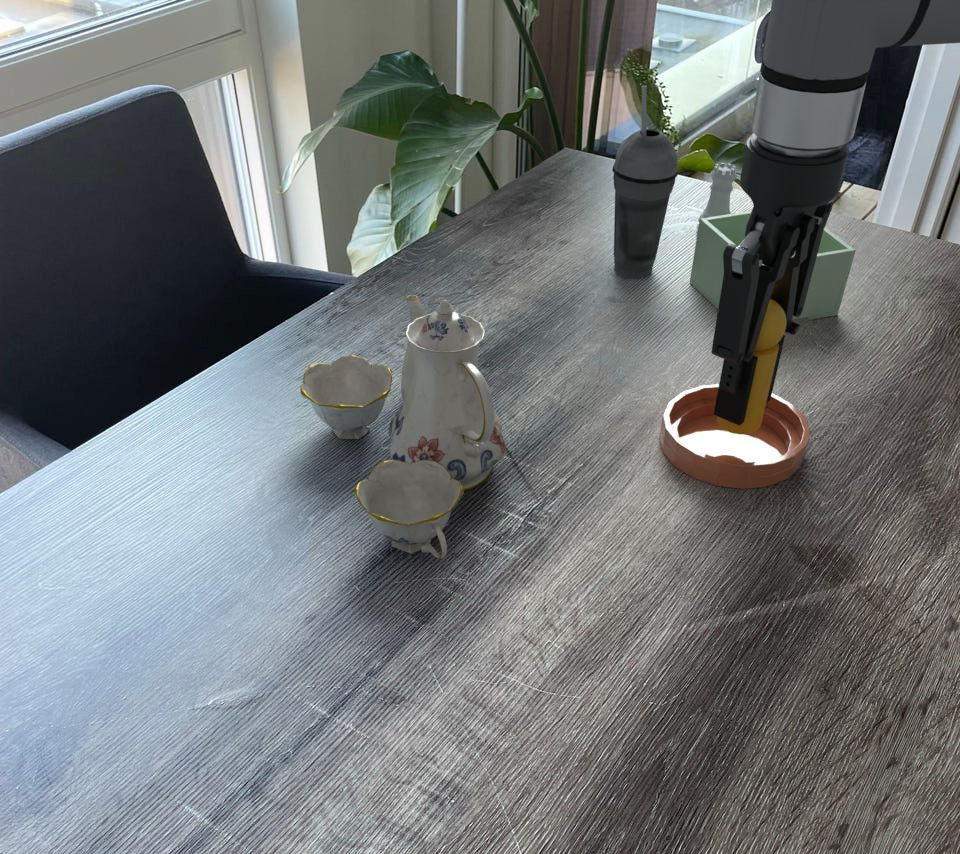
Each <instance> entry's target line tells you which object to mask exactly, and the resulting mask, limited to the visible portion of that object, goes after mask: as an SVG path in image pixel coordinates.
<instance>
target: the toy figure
mask: <svg viewBox="0 0 960 854" xmlns="http://www.w3.org/2000/svg"><path fill="white" fill-rule="evenodd" d="M785 330H786V315H785V312H784V310H783V309H782V307H781V306H780V305H779V304H778V303H777V302H775V301H774V300H772V299H770V301H769V304H768V307H767V311H766V314H765V317H764V321H763V324H762V327H761V331H760V334H759V337H758V341H757V344H756V347H755V351H754V354H753V355H754V356H757V357H758V360H757V364H756V369H755V373H754V378H753V383H752V387H751V392H750V397H749V401H748V406H747V410H746V415H745V420H744V422H743V423H742V424H741V425H740V426H739V425H737V424H734V423H732V422H730V421H727V420H725V419H723V418H720V417H717V422H718V424H719V426H720V427H721V428H722V429H724V430H726V431H728V432H730V433H734V434H741V435H745V434H751V433H754V432H756V431H757V430H759V429H760V427H761V423H762V419H763V415H764V410H765V406H766V402H767V397H768V393H769V389H770V384H771V380H772V376H773V371H774V367H775V363H776V358H777V354H778V350H779V344H778V342H779V341H780V340H781V338H782V337H783V335H785V333H786V332H785Z"/></svg>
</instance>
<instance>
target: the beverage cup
mask: <svg viewBox="0 0 960 854" xmlns="http://www.w3.org/2000/svg"><path fill="white" fill-rule="evenodd" d="M647 87H648V86H647V85H646V84H644V85H641V130H637V131H636V132H632V133H631V134H630V135H629V136H628V137H627V138H626V139H625V140H624V141H623V142H622V143H621V145H620V146H619V148H618V150H617V152H616V156H615V160H614V162H613V165H612V173H613V176H612V177H613V178H612V179H613V188H614V222H613V223H614V224H613V225H614V227H613V229H614V230H613V235H614V236H613V264H614V266H613V270H614V272H615V274H617V275H619V276H621V277H623V278H627V279H643V278H647V277H649V276H651V274H652V273H653V267H654V264H655V261H656V259H657V253H658V249H659V245H660V241H661V236H662V232H663V227H664V223H665V219H666V214H667V210H668V205H669V202H670V197H671V194H672V193H673V189H674V187H675V183H676V178H677V177H678V176H679V166H678V163H679V162H678V154H677V151H676V147H675V146H674V144H673V142H672V141H671V139H670V138H669V137H668V136H667V135H666V134H665V133H663V132H661V131H660V130H656V129H653V128H652V129H651V128H647V99H648V97H647V96H648V95H647V93H648V91H647Z"/></svg>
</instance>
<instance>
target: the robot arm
mask: <svg viewBox="0 0 960 854" xmlns="http://www.w3.org/2000/svg"><path fill="white" fill-rule="evenodd" d="M769 11H770V12H769V17H768V23H767V28H766V35H765V40H764V41H765V42H764V48H763V53H762V60H761V64H760V68H759V75H758V77H757V78H756V79H755V81H754V83H753V89H754V91H755V96H754V97H755V98H754V104H753V109H752V114H751V120H750V129H751V131H752V134H751V135H750V136H749V137H748V138H747V140H746V143H745V150H744V156H743V161H742V166H741V172H740V177H739V184H740V187H741V189H742V191H743V192H744V193H745V194H746V195H747V196H748V198H750V200H751V202H752V205H753V206H752V208H751V211H752V212H751V215H750V218H749V220H748V223H747V226H746V231H745V236H746V238H745V239H744V240H743V241H742V243H741V244H740V245H739V246H736V245H733V244H728V245H727V246H726V248H725V250H724V253H723V265H724V276H723V282H722V289H721V295H720V301H719V307H718V309H717V315H716V321H715V327H714V333H713V340H712V345H711V354H712V355H714V356H716V357H718V358H721V359H723V362H722V367H721V373H720V378H719V383H718V384H719V388H718V393H717V399H716V404H715V409H714V414H713V415H716V416H718V417H720V418H723V419H725V420H727V421H730V422H732V423H734V424H737V425H739V426H740V425H741V424H742V423H743V422H744V420H745V415H746V410H747V406H748V401H749V397H750V392H751V387H752V383H753V378H754V373H755V369H756V364H757V360H758V357H757V356H754V355H753V354H754V351H755V347H756V344H757V341H758V337H759V334H760V331H761V327H762V324H763V321H764V317H765V314H766V311H767V307H768V304H769V301H770V299H772V300H774V301H775V302H777V303H778V304H779V305H780V306H781V307H782V309H783V310H784V312H785V315H786V330H785V333H787V334H790V335H792V336H795V335H796V334H797V332H798V331H799V329H800V326H801V325H800V323H798V322H795V321H793V320H792V319H793V316H794V317H799V316H800V315H801V314H802V312H803V308H804V304H805V300H806V296H807V292H808V288H809V284H810V281H811V277H812V273H813V269H814V265H815V261H816V257H817V253H818V250H819V246H820V242H821V238H822V234H823V230H824V228H825V227H826V225H827V223H828V219H829V218H830V215H831V213H832V210H833V206H834V202H833V200H834V199H836V198H837V196H838V194H839V193H840V189H841V185H842V182H843V177H844V174H845V171H846V170H845V169H846V166H847V161H848V158H849V153H850V149H849V147H848V143H849V142H850V141H852V140H853V138H854V136H855V132H856V128H857V124H858V120H859V115H860V111H861V107H862V103H863V98H864V95H865V90H866V85H867V80H868V77H869V73H870V69H871V65H872V61H873V58H874V55H875V51H876V49H877V48H896V47H897V48H898V47H910V46H911V47H912V46H913V47H914V46H927V45H928V46H929V45H949V44H960V0H771V6H770V10H769ZM762 264H763V265H762ZM765 265H766V266H765ZM785 339H786V335H785V334H784V335H783V337H782V338H781V340H780V341H779V342H778V344H779V350H778V354H777V358H776V363H775V367H774V371H773V376H772V380H771V384H770V389H769V393H768V397H767V402H768V401H770V399H771V395H772V393H773V391H774V385H775V382H776V376H777V373H778V368H779V364H780V360H781V357H782V356H781V355H782V352H783V348H784V343H785ZM767 402H766V403H767Z"/></svg>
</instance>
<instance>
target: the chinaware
mask: <svg viewBox="0 0 960 854" xmlns="http://www.w3.org/2000/svg"><path fill="white" fill-rule="evenodd" d="M406 302H407V306H408V310H409V317H410V323H409V324H408V325H407V327H406V330H405V335H406V337H407V342H406V348H405V351H404V352H405V353H404V356H403V362H402V370H401V380H400V391H401V392H400V393H401V397H402V402H403V403H402V405H401V406H400V407H399V409H398V410H397V411H396V412H395V415H393V418H392V419H391V420H390V422H389V425H388V433H389V434H388V435H389V440H390V447H389V456H390V460H383V461H381V462H380V463H378V464H377V465H375V466H374V467H373V468H372V470H371V471H370V473H369V474H368V476H367V478H364V479H363V480H360V481H359V482H357V484H356V487H354V489H353V494H354V496H355V498H356V500H357V501H358V503H359V505H360V506H361V507H362V508H363V510H364V511H365V513H367V514H368V517H369V519H370V521H371V524H372V525H373V526H374V528H375V530H376V531H377V532H378V533H379V534H380V535H382V536H383V537H384V538H386V539H387V540H389V541H390V542H391V545H390V546H391V547H392V548H395V549H397V550H399V551H402V552H406V553H408V554H409V555H410V554H411V555H412V554H414V553H416V552H420V551H421V552H422V553H423V554H428V553H431V554H432V555H433V557H435V559H438V560H442V559H444V558H445V557H446V555H447V552H448V546H447V540H446V536H445V534H444V532H443V530H444V528H445V527H446V525H447V524H448V522H449V519H450V517H451V515H452V511H453V509H454V508H456V506H457V505H458V503H459V502H460V500H461V498H462V496H463V495H464V493H465V492H466V491H469V490H472V489H475V488H476V487H479V486H481V485H482V484H483V483H485V482H486V481H487V480H488V479H489V478H490V476H491V474H492V472H493V469H494V465H496V464H497V463H498V462H499V461H501V459H503V457H504V456H505V454H506V451H507V447H506V443H505V440H504V436H503V424H502V420H501V418H500V416H499V414H498V413H497V412H496V410H495V407H494V400H493V396H492V394H491V389H490V387H489V385H488V383H487V381H486V379H485V377H484V375H483V374H482V372H481V371H480V370H479V367H478V364H479V363H478V362H479V361H478V359H479V350H480V346H481V343H482V340H483V339H484V337H485V331H486V330H485V328H484V327H483V325H482V323H481V322H480V321H478V320H476V319H475V318H473V317H472V316H469V315H465V314H462V313H459V312H458V311H456V310H455V307H454V306H453V305H451V303H450V301H449V300H448V299H443V300H441V301H440V302H439V304H438V305H437V306H436V307H435V310H434V311H432V312H431V313H428V314H425V312H424V308H423V304H422V302H421V300H420V298H419V297H418V295H416V294H410V295H407V296H406ZM392 384H393V371H392V369H391V368H390V367H387V366H386V365H384V364H372V363H371V362H369V361H368V360H367V359H366V358H364V357H361V356H359V355H354V354H350V355H345V356H340V357H339V358H337V359H336V360H333V362H331V363H324V362H316V363H314V364H311V365H309V366H308V367H307V368H306V369H305V371H304V373H303V379H302V384H301V385H300V387H299V389H300V395H301V397H303V399H306V400H308V401H309V402H310V404H311V406H312V409H313V411H314V413H315V414H316V416H317V418H319V419H320V420H321V422H323V423H324V424H325V425H327V426H329V428H330V429H331V430H332V432H333V433H334V435H335V436H337V438H338V439H343V440H359V439H361V438H362V437H364V436H365V435H366V434H367V433H368V432H369V431H371V427H370V425H372V424H373V423H374V422H375V421H376V420H377V419H378V417H379V416H380V415H381V413H382V411H383V409H384V406H385V403H386V399H387V398H388V396H389V394H390V392H391V388H392ZM436 536H437V540H438V543H439V546H440V553H439V552H438V551H437V550H436V549H435V548H434V547H433V545H432V544H431V542H432V539H434V538H435V537H436Z"/></svg>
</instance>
